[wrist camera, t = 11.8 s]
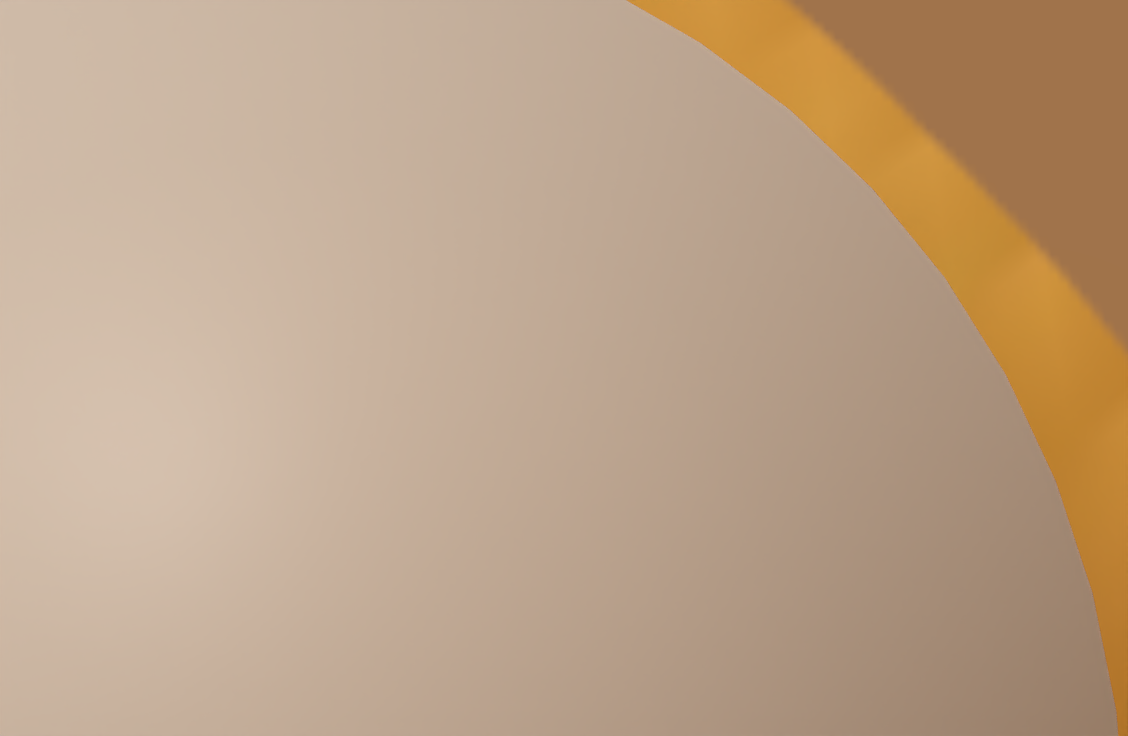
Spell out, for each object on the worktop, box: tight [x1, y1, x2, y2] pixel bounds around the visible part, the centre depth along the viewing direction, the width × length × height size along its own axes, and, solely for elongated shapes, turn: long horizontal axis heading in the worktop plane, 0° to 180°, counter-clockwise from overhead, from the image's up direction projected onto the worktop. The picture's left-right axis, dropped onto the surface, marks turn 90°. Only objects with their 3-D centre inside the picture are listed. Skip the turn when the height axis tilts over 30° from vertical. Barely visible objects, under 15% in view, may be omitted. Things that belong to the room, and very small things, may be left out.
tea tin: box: [0, 0, 1118, 736], centre depth 9 cm, size 6×6×12 cm
